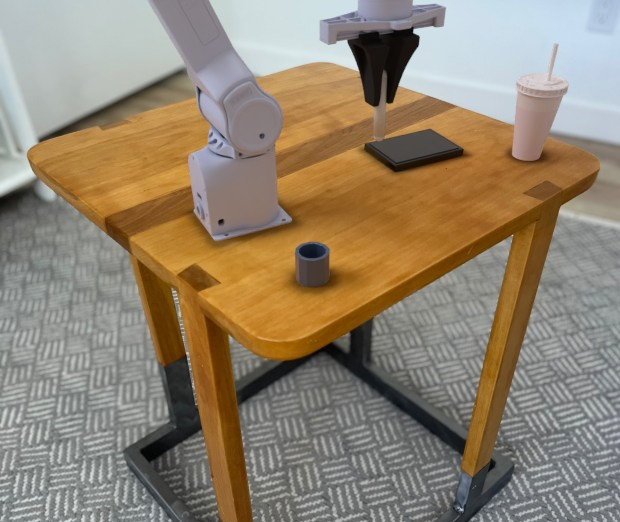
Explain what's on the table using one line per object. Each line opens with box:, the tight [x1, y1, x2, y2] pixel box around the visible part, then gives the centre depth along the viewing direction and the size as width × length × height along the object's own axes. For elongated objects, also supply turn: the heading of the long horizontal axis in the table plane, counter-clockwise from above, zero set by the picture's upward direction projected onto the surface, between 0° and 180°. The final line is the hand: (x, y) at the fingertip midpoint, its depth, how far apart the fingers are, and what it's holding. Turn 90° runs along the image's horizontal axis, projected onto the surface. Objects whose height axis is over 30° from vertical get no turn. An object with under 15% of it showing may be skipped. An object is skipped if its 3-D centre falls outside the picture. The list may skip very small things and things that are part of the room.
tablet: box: [363, 128, 465, 173], centre depth 85 cm, size 11×8×1 cm
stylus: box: [372, 70, 387, 141], centre depth 71 cm, size 1×1×8 cm
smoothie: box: [511, 42, 570, 162], centre depth 79 cm, size 6×6×14 cm
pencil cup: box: [294, 241, 331, 288], centre depth 62 cm, size 3×3×4 cm
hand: (378, 102), depth 71 cm, fingers closed on stylus, 1 cm apart
